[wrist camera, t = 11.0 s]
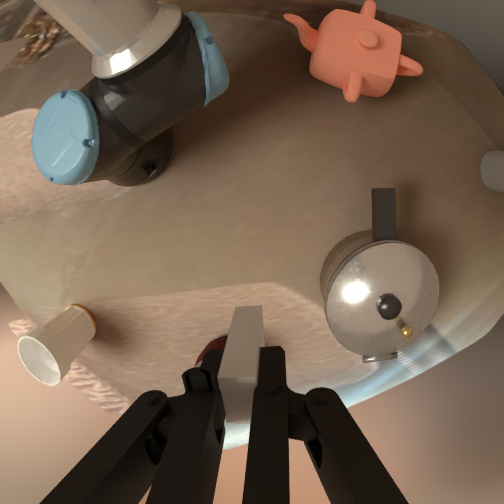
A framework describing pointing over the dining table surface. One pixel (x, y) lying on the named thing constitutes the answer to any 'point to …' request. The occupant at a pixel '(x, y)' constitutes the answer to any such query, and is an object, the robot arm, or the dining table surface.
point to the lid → (382, 300)
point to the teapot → (355, 52)
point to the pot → (363, 237)
